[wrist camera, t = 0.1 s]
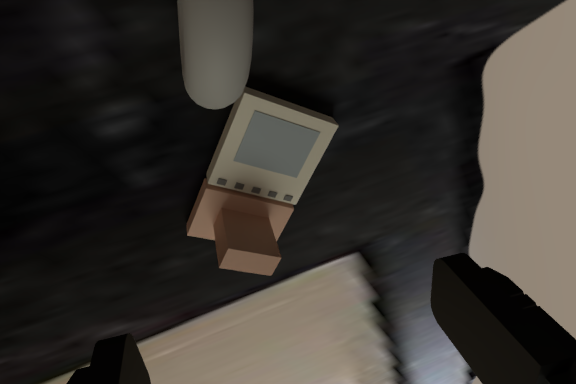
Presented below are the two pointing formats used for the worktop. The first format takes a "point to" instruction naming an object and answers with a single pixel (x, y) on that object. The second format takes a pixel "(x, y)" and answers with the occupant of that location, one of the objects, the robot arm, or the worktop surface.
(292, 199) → the control panel
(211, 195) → the stub
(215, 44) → the donut
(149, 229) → the worktop surface
